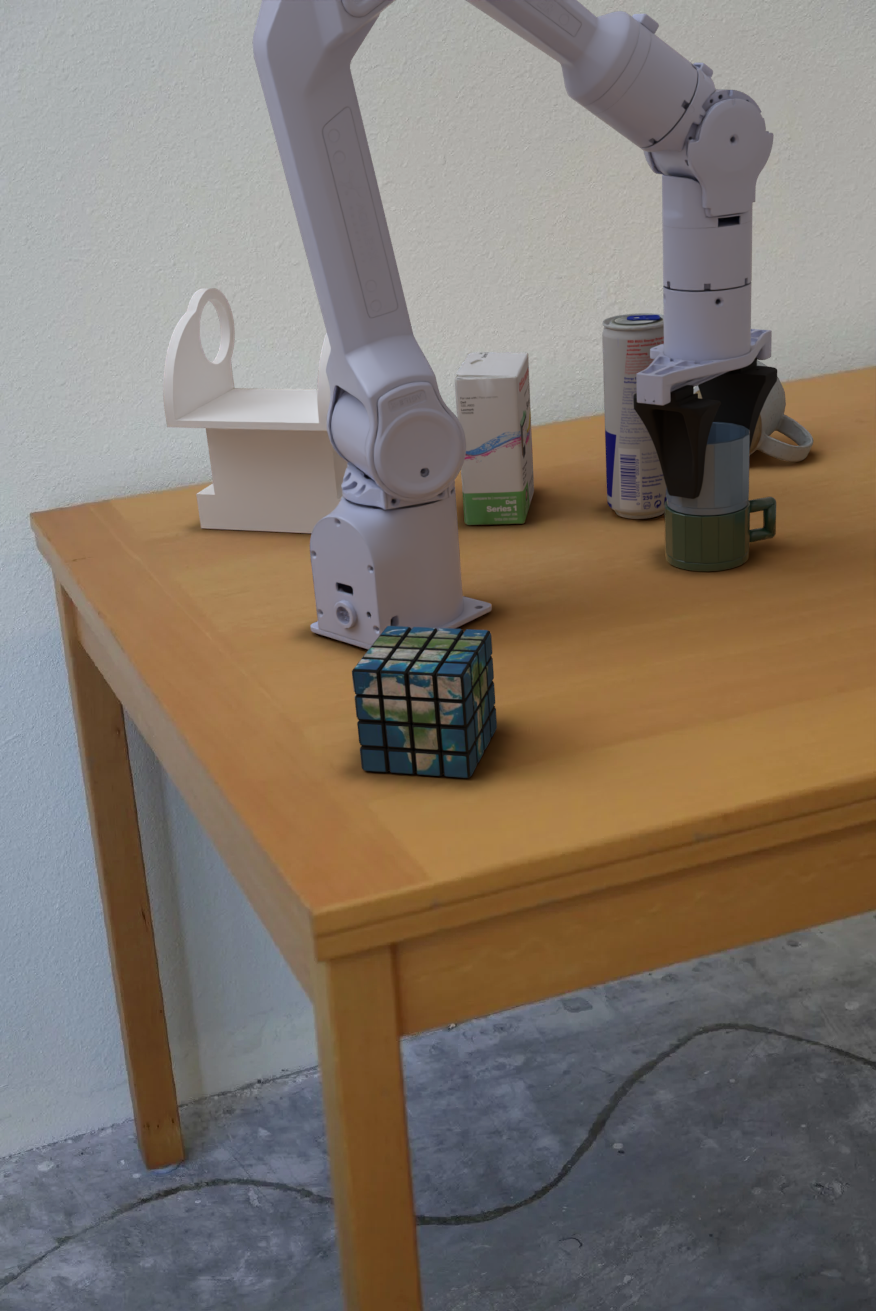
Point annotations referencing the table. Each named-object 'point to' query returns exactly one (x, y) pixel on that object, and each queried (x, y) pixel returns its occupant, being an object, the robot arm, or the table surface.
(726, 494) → the blue cup
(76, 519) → the table surface
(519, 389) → the ink box
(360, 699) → the puzzle
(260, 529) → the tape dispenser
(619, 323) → the beverage can
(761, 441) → the ceramic mug
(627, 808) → the table surface
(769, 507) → the green mug
